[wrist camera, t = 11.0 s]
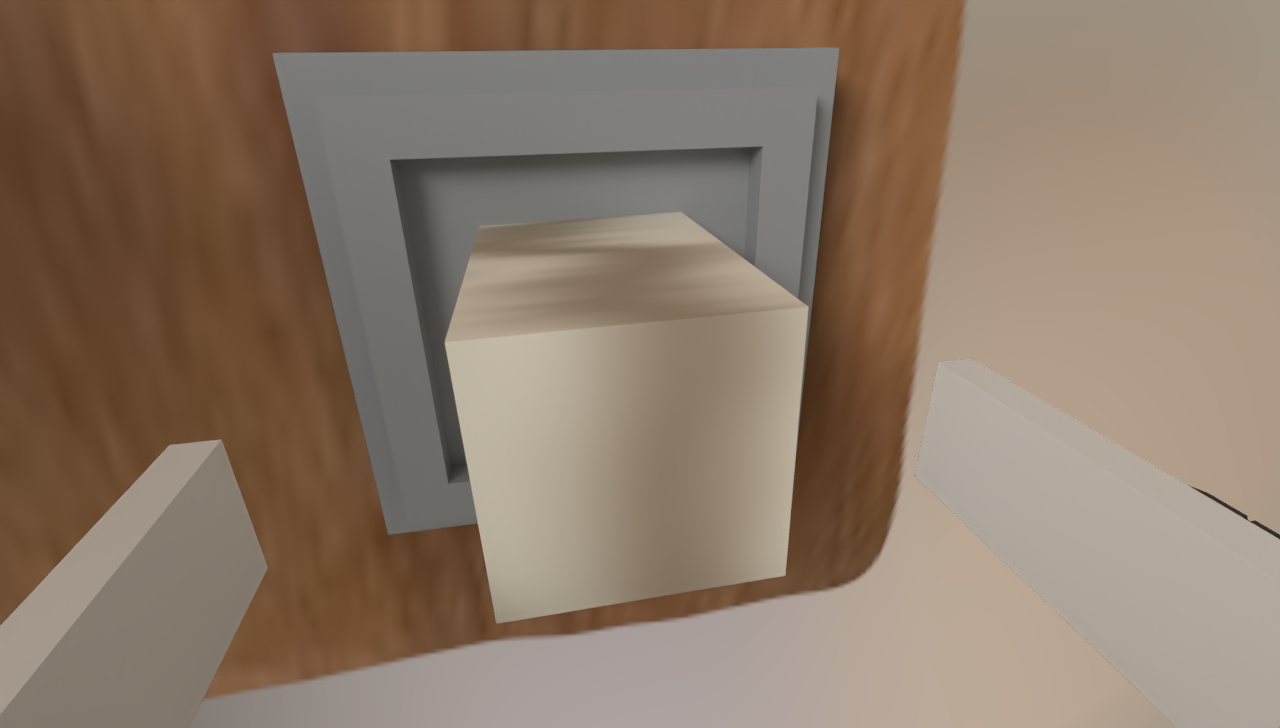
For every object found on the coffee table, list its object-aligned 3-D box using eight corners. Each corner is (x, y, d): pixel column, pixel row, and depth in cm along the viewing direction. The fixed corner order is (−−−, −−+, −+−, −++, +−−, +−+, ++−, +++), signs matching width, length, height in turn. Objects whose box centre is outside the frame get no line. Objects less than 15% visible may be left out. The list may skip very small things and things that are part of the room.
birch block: (505, 408, 20) (496, 623, 12) (479, 226, 17) (444, 342, 9) (682, 388, 21) (785, 575, 13) (681, 211, 18) (808, 306, 10)
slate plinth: (398, 500, 23) (382, 554, 20) (298, 57, 17) (256, 50, 14) (773, 455, 25) (804, 498, 23) (809, 51, 19) (856, 45, 16)
